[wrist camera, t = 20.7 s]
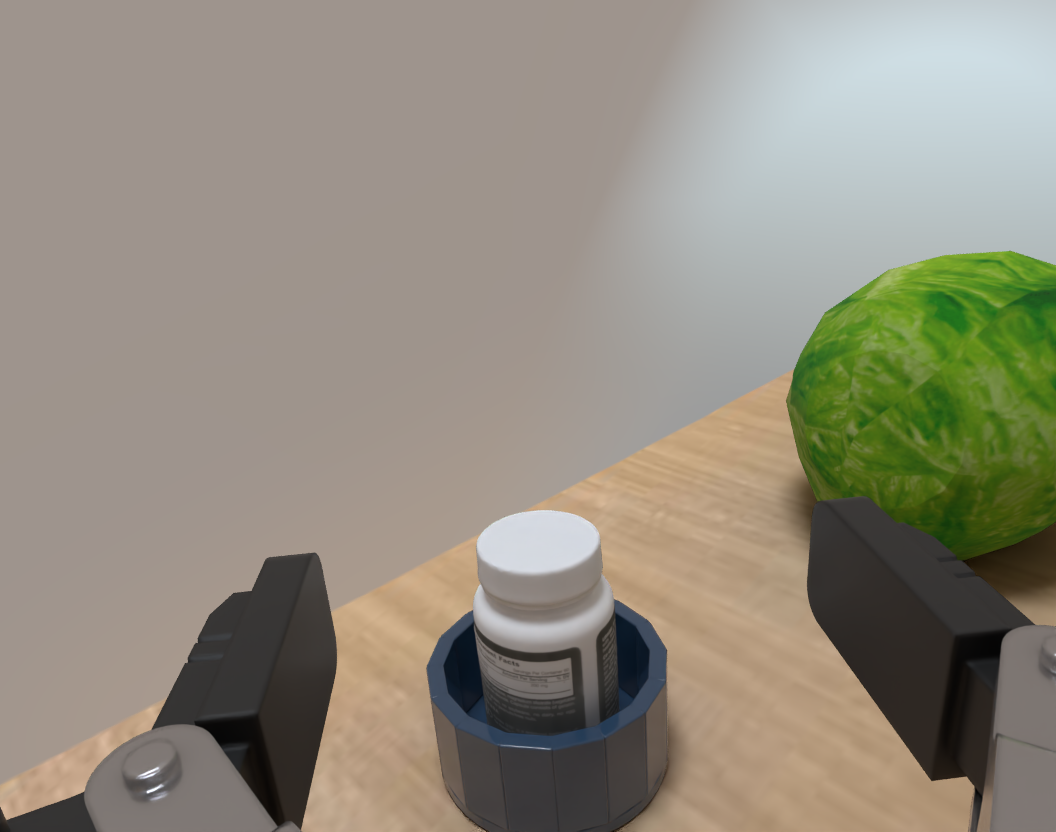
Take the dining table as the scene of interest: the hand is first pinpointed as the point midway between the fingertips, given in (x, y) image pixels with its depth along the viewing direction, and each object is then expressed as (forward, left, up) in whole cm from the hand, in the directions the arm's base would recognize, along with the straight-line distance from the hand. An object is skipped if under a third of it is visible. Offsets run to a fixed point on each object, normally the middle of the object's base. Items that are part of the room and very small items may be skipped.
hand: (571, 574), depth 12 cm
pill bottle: (-9, +6, -14) cm, 18 cm away
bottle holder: (-10, +6, -14) cm, 18 cm away
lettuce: (-10, +34, -15) cm, 38 cm away
